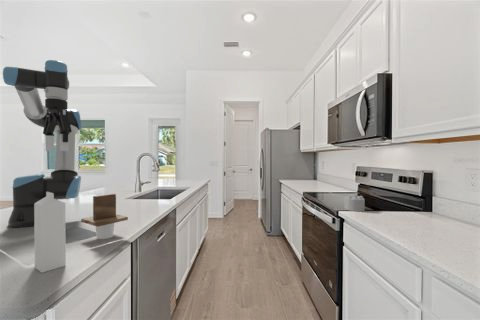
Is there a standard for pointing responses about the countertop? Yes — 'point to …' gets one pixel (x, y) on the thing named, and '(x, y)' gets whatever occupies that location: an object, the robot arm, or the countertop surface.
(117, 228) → the countertop surface
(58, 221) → the milk
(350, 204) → the lumpy-topped squat cylinder
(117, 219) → the board
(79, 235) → the mat
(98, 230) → the white grey-rimmed cup
